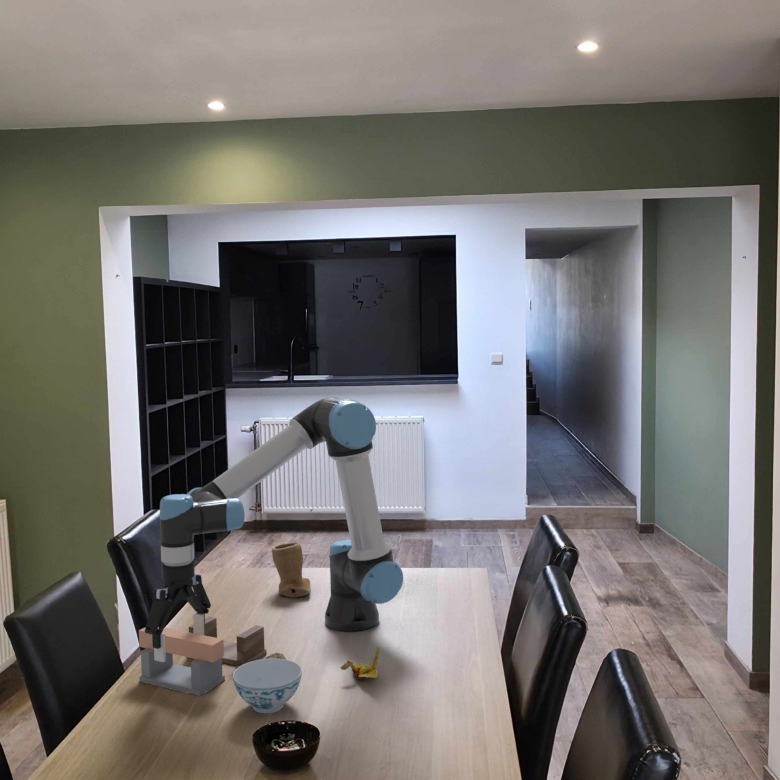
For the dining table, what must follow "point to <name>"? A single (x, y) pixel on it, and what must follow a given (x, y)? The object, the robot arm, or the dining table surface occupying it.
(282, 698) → the chinaware
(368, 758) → the dining table surface
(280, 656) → the mineral rock
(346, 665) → the origami crane
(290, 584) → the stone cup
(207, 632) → the bronze cradle base
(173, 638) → the salmon pink square bar
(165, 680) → the stand
